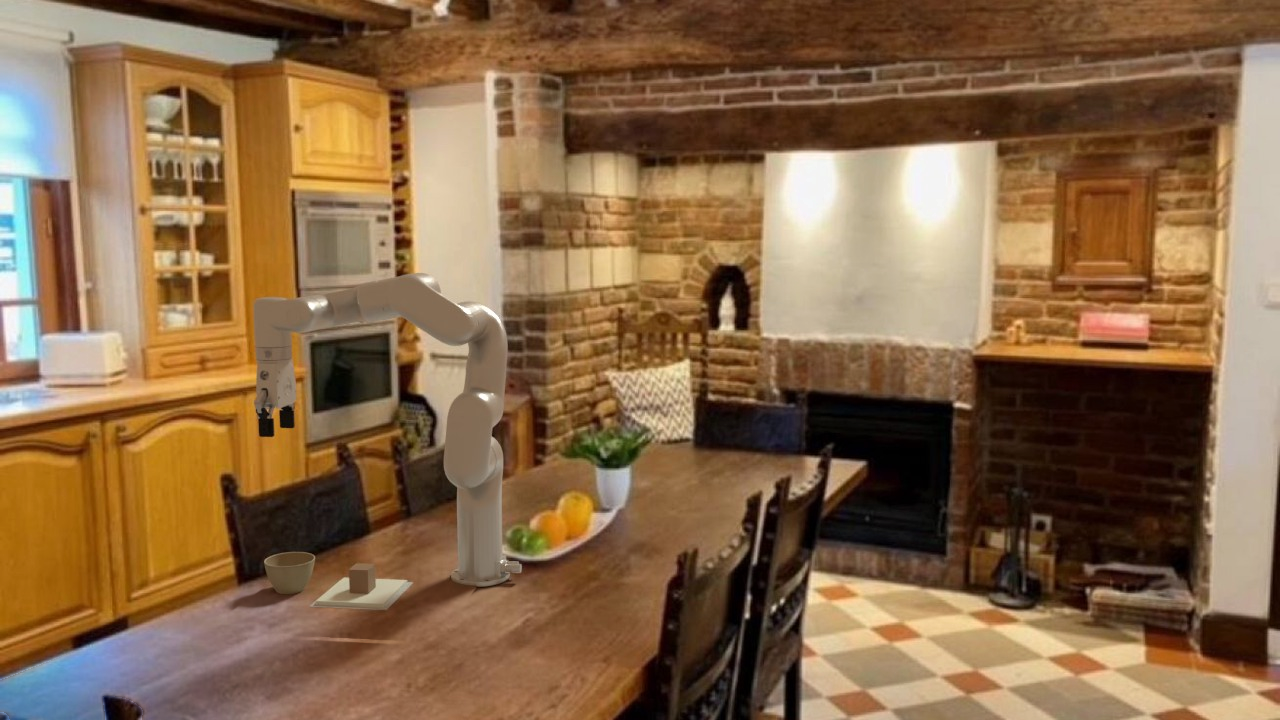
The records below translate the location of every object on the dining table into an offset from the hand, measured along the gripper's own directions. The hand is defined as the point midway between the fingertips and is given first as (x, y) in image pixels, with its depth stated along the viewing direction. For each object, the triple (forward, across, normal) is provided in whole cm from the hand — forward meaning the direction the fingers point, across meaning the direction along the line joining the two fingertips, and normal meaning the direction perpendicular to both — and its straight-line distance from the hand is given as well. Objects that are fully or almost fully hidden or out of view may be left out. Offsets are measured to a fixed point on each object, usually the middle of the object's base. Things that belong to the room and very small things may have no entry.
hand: (277, 432), depth 221 cm
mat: (+31, -14, -24) cm, 42 cm away
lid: (+31, -14, -24) cm, 41 cm away
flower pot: (+31, -13, -8) cm, 35 cm away
